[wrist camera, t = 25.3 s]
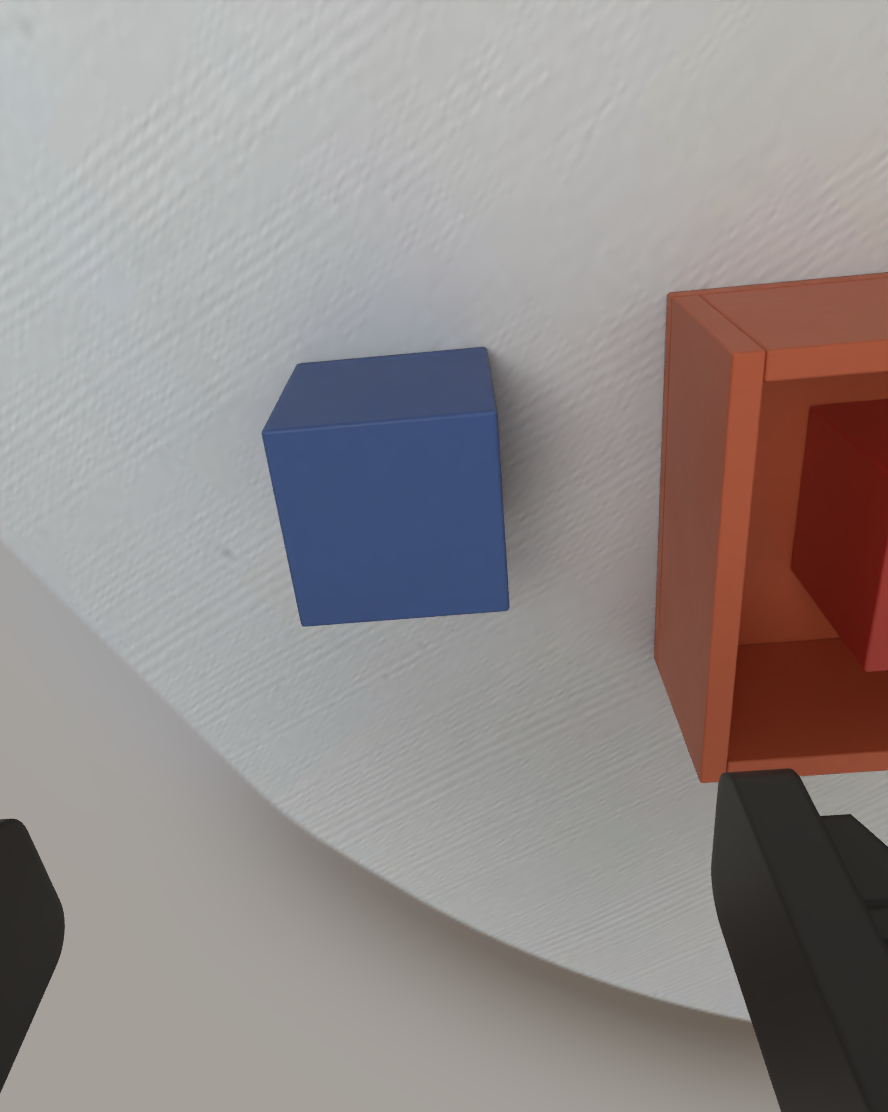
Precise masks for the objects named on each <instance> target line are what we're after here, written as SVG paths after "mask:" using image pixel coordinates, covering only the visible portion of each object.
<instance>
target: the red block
mask: <svg viewBox="0 0 888 1112" xmlns="http://www.w3.org/2000/svg"><path fill="white" fill-rule="evenodd" d="M791 570H792V571H793V573H794V574H795V575H796V577H797V578H798V580H799V581H800V582H801V584H802V585H803V587H804V588H805V589H806V591H807V592H808V594H809V595H810V596H811V598H812V599H813V601H814V602H815V603H816V605H817V606H818V607H819V609H820V610H821V612H822V613H823V614H824V616H825V617H826V619H827V620H828V621H829V623H830V624H831V626H832V627H833V628H834V630H835V631H836V633H837V634H838V635H839V637H840V638H841V640H842V641H843V642H844V644H845V645H846V646H847V648H848V649H849V651H850V652H851V653H852V655H853V656H854V658H855V659H856V660H857V662H858V663H859V665H860V666H861V667H862V669H863V670H864V671H866V672H874V671H887V670H888V399H882V400H871V401H860V402H849V403H838V404H827V405H815V406H811V408H810V413H809V422H808V430H807V438H806V447H805V455H804V463H803V472H802V480H801V488H800V496H799V505H798V513H797V521H796V530H795V538H794V546H793V554H792V563H791Z"/></svg>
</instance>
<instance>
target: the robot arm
mask: <svg viewBox="0 0 888 1112" xmlns="http://www.w3.org/2000/svg"><path fill="white" fill-rule="evenodd" d="M711 877H712V889H713V896H714V902H715V907H716V912H717V916H718V920H719V923H720V926H721V930H722V933H723V936H724V939H725V942H726V945H727V948H728V951H729V954H730V957H731V960H732V963H733V966H734V969H735V972H736V975H737V978H738V981H739V985H740V988H741V991H742V994H743V997H744V1000H745V1003H746V1006H747V1009H748V1012H749V1015H750V1018H751V1021H752V1024H753V1027H754V1030H755V1033H756V1036H757V1039H758V1042H759V1045H760V1049H761V1051H762V1054H763V1058H764V1061H765V1064H766V1067H767V1070H768V1073H769V1076H770V1079H771V1082H772V1085H773V1088H774V1091H775V1094H776V1097H777V1100H778V1103H779V1106H780V1109H781V1112H888V846H886V845H885V844H884V843H883V842H882V841H881V840H880V839H878V838H877V837H876V836H875V835H874V834H873V833H872V832H870V831H869V830H868V829H867V828H866V827H865V826H864V825H863V824H861V823H860V822H859V821H858V820H857V819H856V818H855V817H853V816H852V815H851V814H846V815H830V816H820V815H819V813H818V811H817V809H816V807H815V806H814V804H813V802H812V800H811V798H810V796H809V794H808V792H807V790H806V788H805V786H804V784H803V782H802V780H801V779H800V777H799V775H798V774H797V773H796V772H795V771H794V770H793V769H791V768H785V769H770V770H755V771H741V772H726V773H722V774H721V776H720V779H719V784H718V794H717V805H716V817H715V828H714V839H713V851H712V862H711ZM64 929H65V924H64V912H63V908H62V905H61V902H60V900H59V898H58V895H57V893H56V891H55V889H54V887H53V885H52V882H51V881H50V878H49V876H48V874H47V872H46V869H45V867H44V865H43V863H42V861H41V859H40V856H39V854H38V852H37V850H36V848H35V846H34V844H33V841H32V839H31V837H30V835H29V833H28V831H27V829H26V827H25V826H24V825H23V823H22V822H20V821H19V820H17V819H1V820H0V1092H1V1090H2V1088H3V1085H4V1083H5V1081H6V1079H7V1077H8V1074H9V1072H10V1070H11V1067H12V1065H13V1063H14V1061H15V1058H16V1056H17V1054H18V1051H19V1049H20V1047H21V1045H22V1042H23V1040H24V1038H25V1036H26V1033H27V1031H28V1029H29V1027H30V1024H31V1022H32V1020H33V1017H34V1015H35V1013H36V1010H37V1008H38V1006H39V1004H40V1001H41V999H42V997H43V995H44V992H45V990H46V988H47V986H48V983H49V981H50V979H51V977H52V974H53V972H54V970H55V967H56V965H57V963H58V960H59V957H60V954H61V950H62V946H63V940H64Z"/></svg>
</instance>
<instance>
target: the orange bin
mask: <svg viewBox="0 0 888 1112" xmlns="http://www.w3.org/2000/svg"><path fill="white" fill-rule="evenodd" d="M882 399H888V272H887V273H876V274H866V275H855V276H844V277H833V278H822V279H811V280H801V281H790V282H779V283H768V284H757V285H746V286H736V287H725V288H714V289H703V290H692V291H681V292H671V293H668V295H667V315H666V342H665V370H664V397H663V425H662V452H661V479H660V507H659V534H658V562H657V589H656V616H655V644H654V658H655V661H656V664H657V666H658V669H659V672H660V675H661V677H662V680H663V683H664V686H665V688H666V691H667V694H668V696H669V699H670V702H671V705H672V707H673V710H674V713H675V715H676V718H677V721H678V723H679V726H680V729H681V732H682V734H683V737H684V740H685V742H686V745H687V748H688V751H689V753H690V756H691V759H692V761H693V764H694V767H695V770H696V772H697V775H698V778H699V780H700V782H701V783H710V782H719V779H720V776H721V774H722V773H726V772H741V771H755V770H770V769H785V768H791V769H793V770H794V771H795V772H796V773H797V774H798V775H799V776H809V775H824V774H839V773H853V772H868V771H883V770H888V670H887V671H874V672H866V671H864V670H863V669H862V667H861V666H860V665H859V663H858V662H857V660H856V659H855V658H854V656H853V655H852V653H851V652H850V651H849V649H848V648H847V646H846V645H845V644H844V642H843V641H842V640H841V638H840V637H839V635H838V634H837V633H836V631H835V630H834V628H833V627H832V626H831V624H830V623H829V621H828V620H827V619H826V617H825V616H824V614H823V613H822V612H821V610H820V609H819V607H818V606H817V605H816V603H815V602H814V601H813V599H812V598H811V596H810V595H809V594H808V592H807V591H806V589H805V588H804V587H803V585H802V584H801V582H800V581H799V580H798V578H797V577H796V575H795V574H794V573H793V571H792V570H791V563H792V554H793V546H794V538H795V530H796V521H797V513H798V505H799V496H800V488H801V480H802V472H803V463H804V455H805V447H806V438H807V430H808V422H809V413H810V408H811V406H815V405H827V404H838V403H849V402H860V401H871V400H882Z"/></svg>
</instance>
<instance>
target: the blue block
mask: <svg viewBox="0 0 888 1112" xmlns="http://www.w3.org/2000/svg"><path fill="white" fill-rule="evenodd" d="M262 437H263V442H264V447H265V452H266V457H267V462H268V466H269V471H270V476H271V481H272V486H273V491H274V495H275V500H276V505H277V510H278V515H279V520H280V524H281V529H282V534H283V539H284V544H285V549H286V553H287V558H288V563H289V568H290V573H291V578H292V582H293V587H294V592H295V597H296V602H297V607H298V611H299V616H300V621H301V624H302V626H318V625H330V624H343V623H356V622H369V621H382V620H395V619H408V618H421V617H434V616H447V615H460V614H473V613H486V612H499V611H507V610H508V609H509V591H508V575H507V559H506V543H505V527H504V511H503V496H502V480H501V464H500V448H499V432H498V416H497V408H496V402H495V396H494V390H493V384H492V378H491V373H490V367H489V361H488V355H487V350H486V348H485V347H478V348H467V349H456V350H445V351H434V352H423V353H412V354H401V355H390V356H379V357H368V358H357V359H346V360H335V361H324V362H312V363H301V364H297V365H296V367H295V369H294V371H293V373H292V375H291V377H290V379H289V381H288V382H287V384H286V386H285V388H284V390H283V392H282V394H281V396H280V398H279V400H278V402H277V404H276V406H275V408H274V410H273V411H272V413H271V415H270V417H269V419H268V421H267V423H266V425H265V427H264V429H263V431H262Z"/></svg>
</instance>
